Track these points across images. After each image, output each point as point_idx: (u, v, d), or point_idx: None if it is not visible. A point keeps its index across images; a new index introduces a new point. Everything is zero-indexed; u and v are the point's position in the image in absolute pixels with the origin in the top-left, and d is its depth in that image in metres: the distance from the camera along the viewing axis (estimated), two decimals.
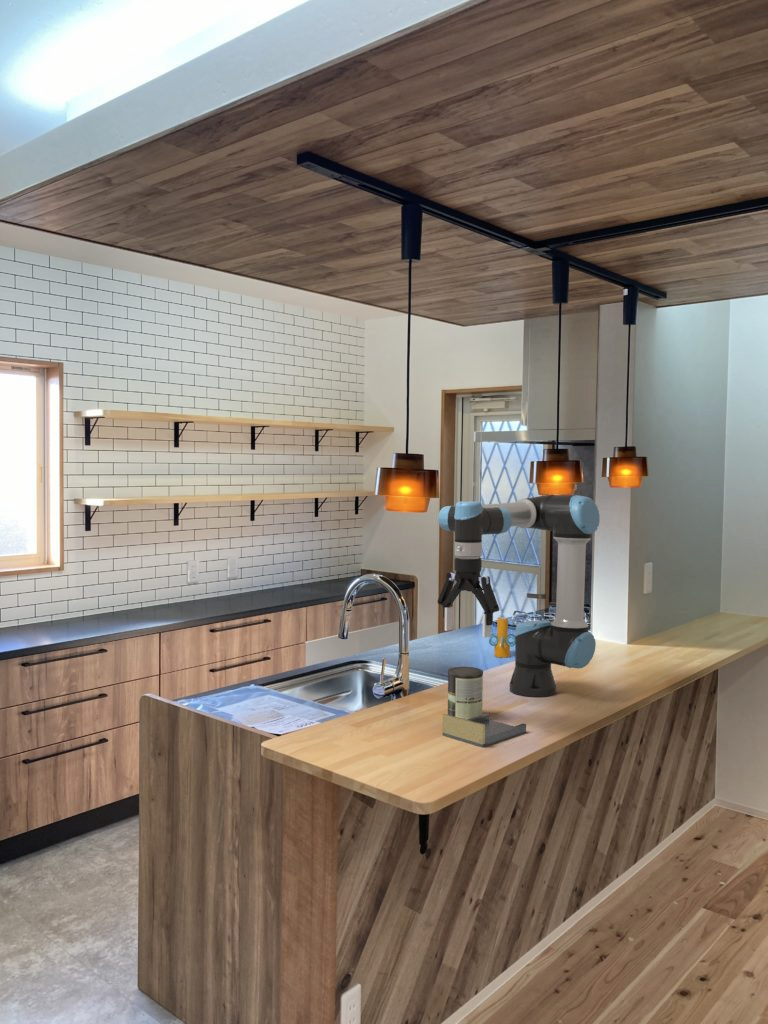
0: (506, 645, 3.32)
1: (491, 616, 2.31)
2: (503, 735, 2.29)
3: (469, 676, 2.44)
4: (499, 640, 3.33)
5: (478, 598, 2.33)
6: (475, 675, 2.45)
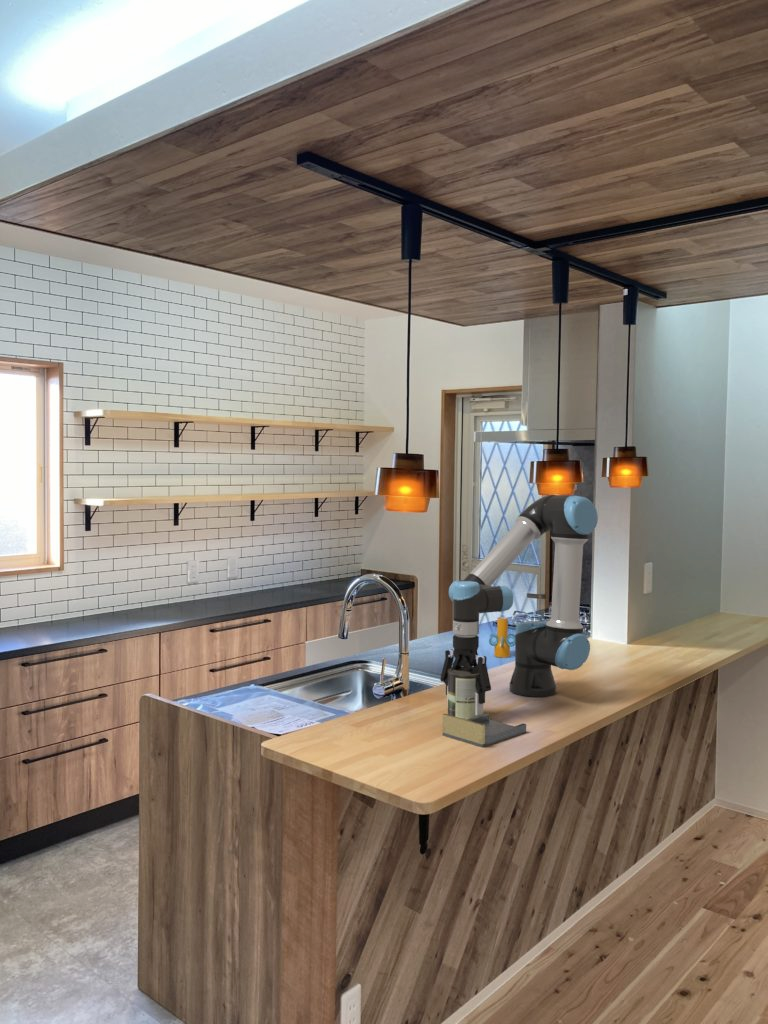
0: (506, 645, 3.32)
1: (483, 695, 2.44)
2: (503, 735, 2.29)
3: (469, 676, 2.44)
4: (499, 640, 3.33)
5: None
6: (475, 675, 2.45)
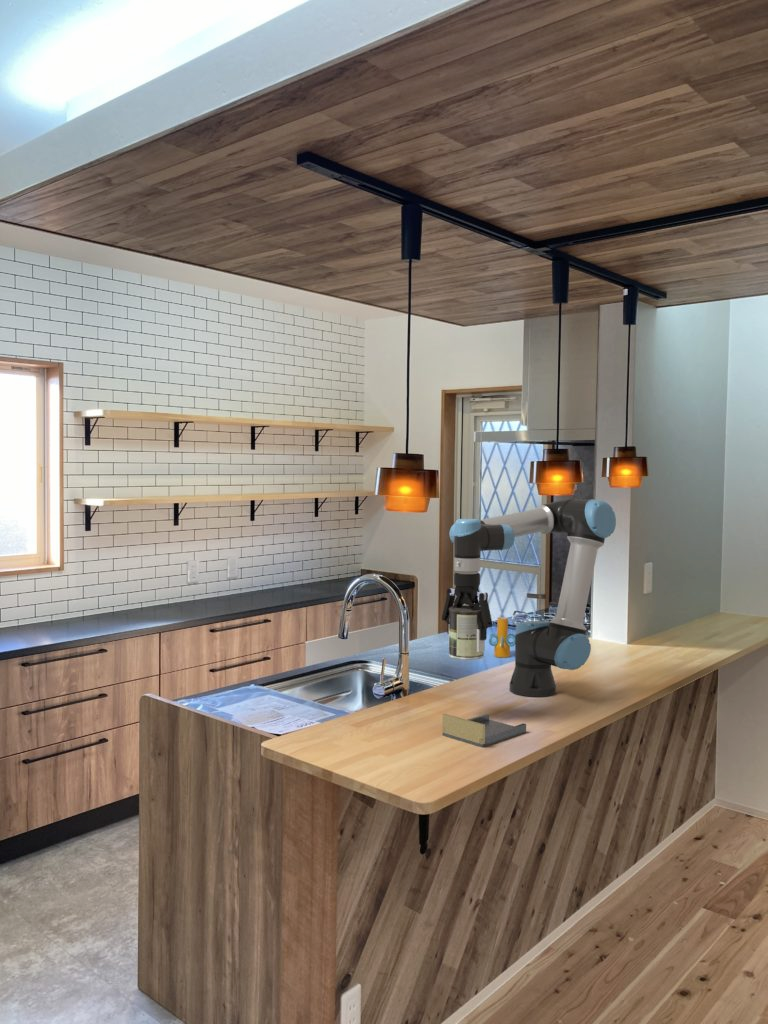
0: (506, 645, 3.32)
1: (485, 631, 2.43)
2: (503, 735, 2.29)
3: (470, 612, 2.43)
4: (499, 640, 3.33)
5: None
6: (476, 611, 2.44)
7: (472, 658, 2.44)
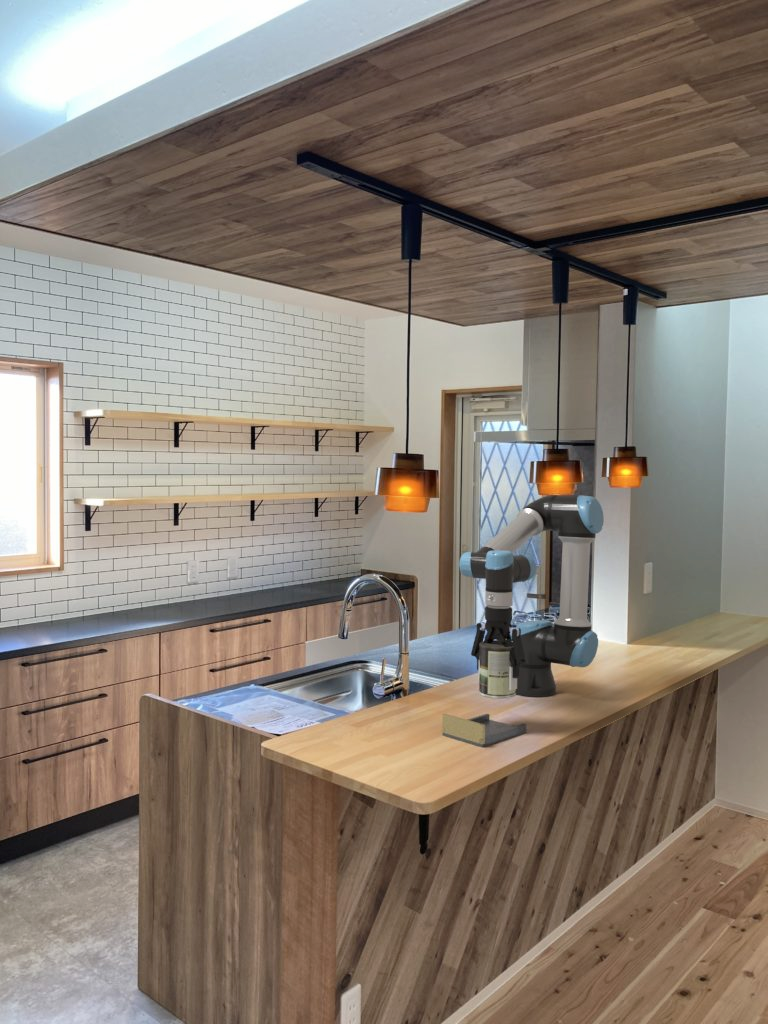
0: None
1: (517, 669, 2.33)
2: (503, 735, 2.29)
3: (502, 649, 2.32)
4: None
5: None
6: (509, 648, 2.33)
7: (504, 697, 2.33)
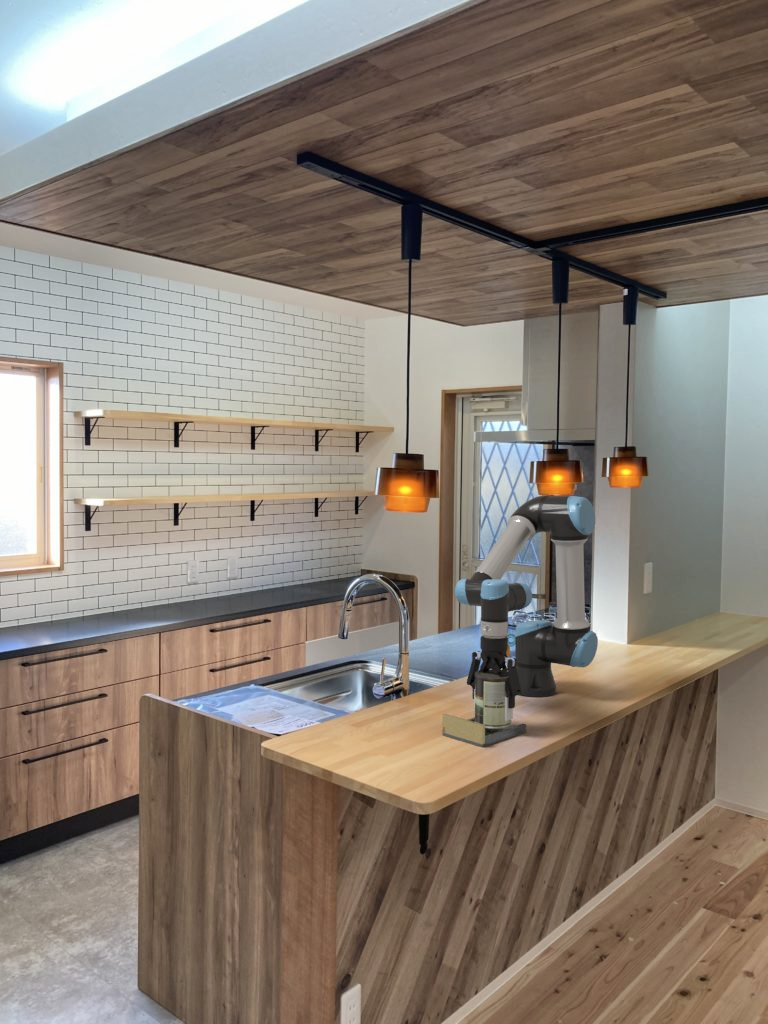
0: None
1: (513, 699, 2.32)
2: (503, 735, 2.29)
3: (498, 679, 2.31)
4: None
5: None
6: (504, 678, 2.32)
7: (500, 727, 2.32)
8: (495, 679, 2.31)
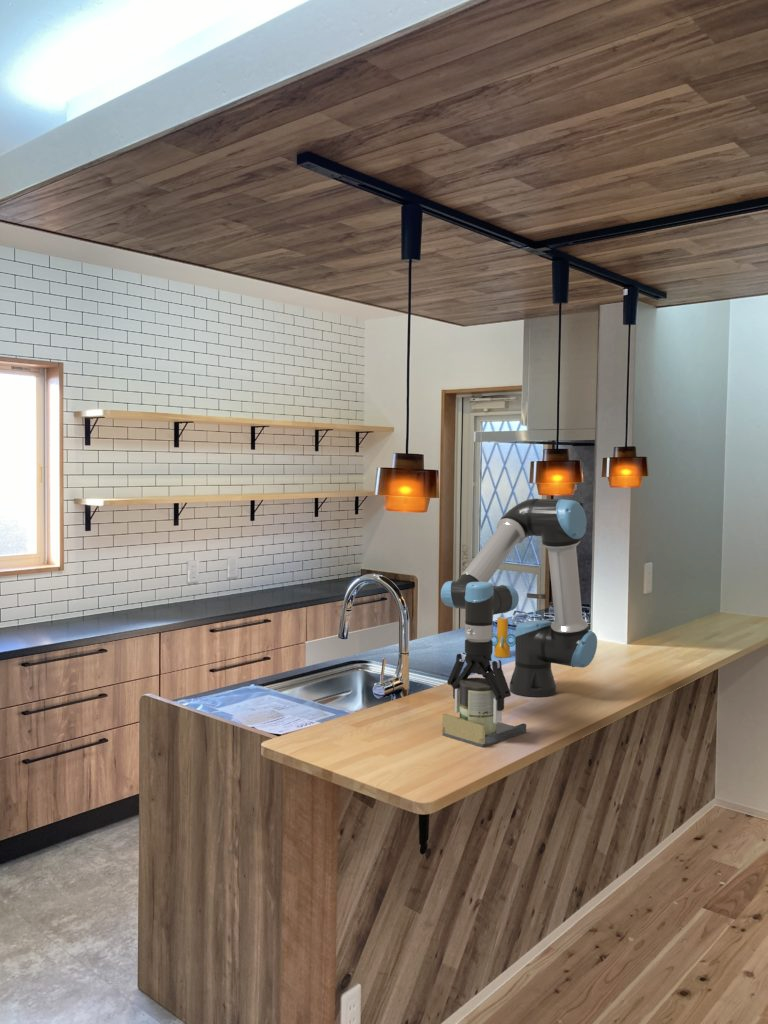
0: (506, 645, 3.32)
1: (502, 701, 2.26)
2: (503, 735, 2.29)
3: (483, 688, 2.27)
4: (499, 640, 3.33)
5: (489, 682, 2.28)
6: (489, 687, 2.28)
7: None
8: (480, 688, 2.27)
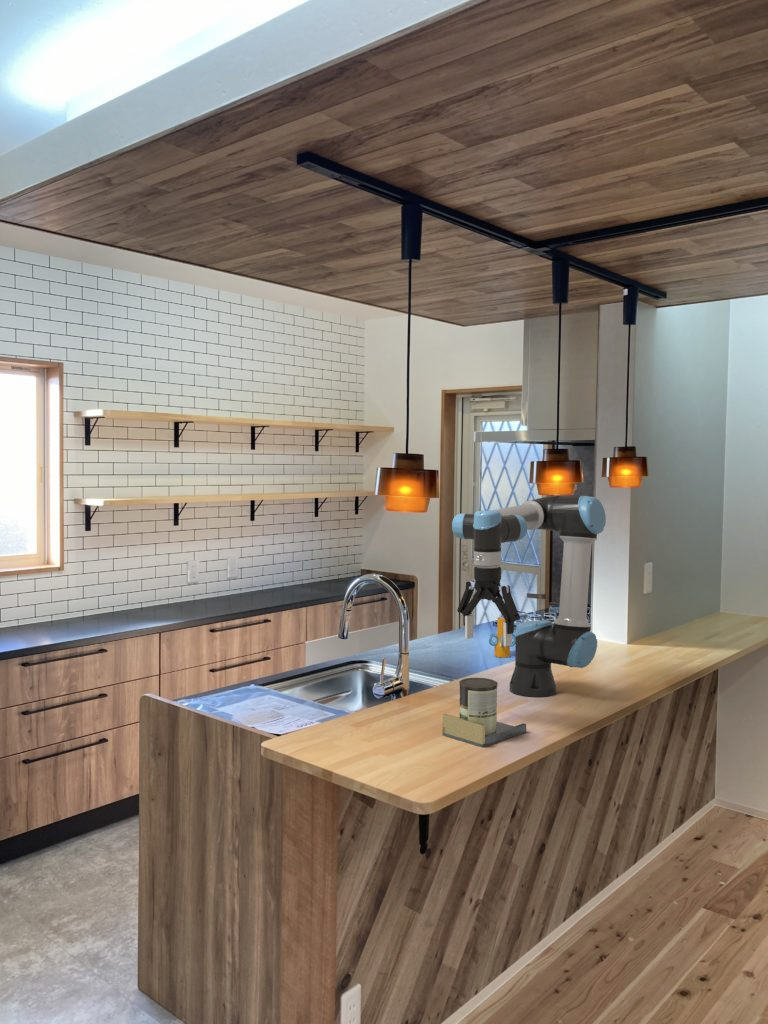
0: None
1: (512, 625, 2.33)
2: (503, 735, 2.29)
3: (483, 688, 2.27)
4: (499, 640, 3.33)
5: (499, 607, 2.34)
6: (489, 687, 2.28)
7: None
8: (479, 688, 2.27)
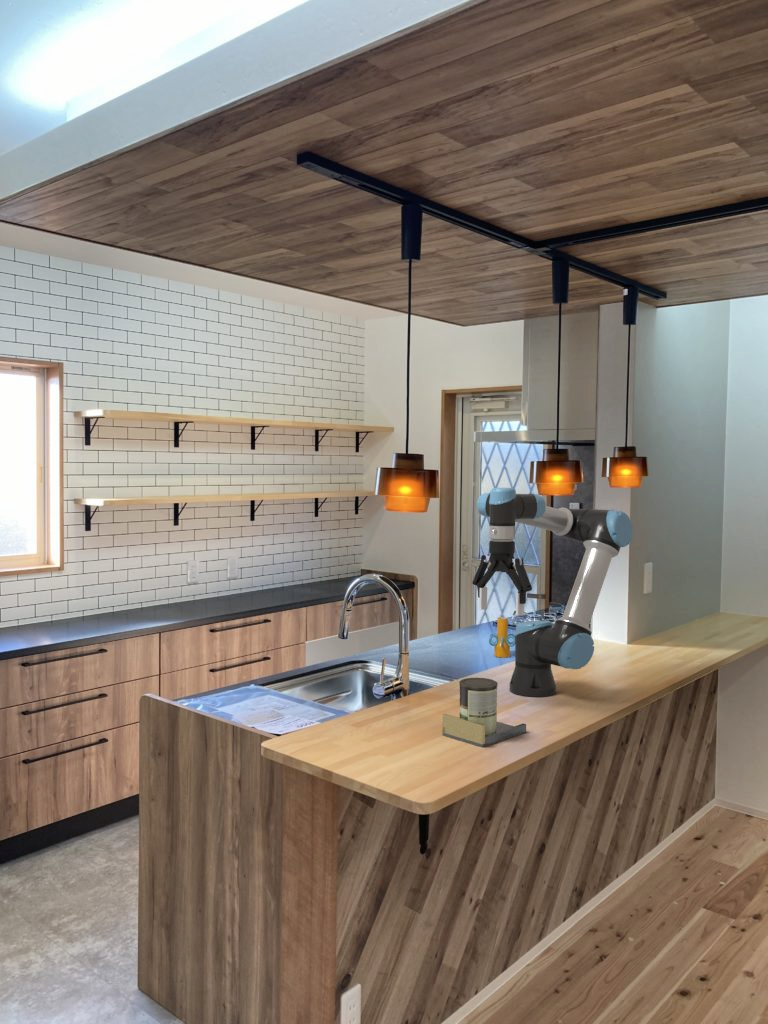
0: (506, 645, 3.32)
1: (524, 595, 2.45)
2: (503, 735, 2.29)
3: (482, 688, 2.27)
4: (499, 640, 3.33)
5: (512, 578, 2.47)
6: (489, 687, 2.28)
7: None
8: (479, 688, 2.27)
